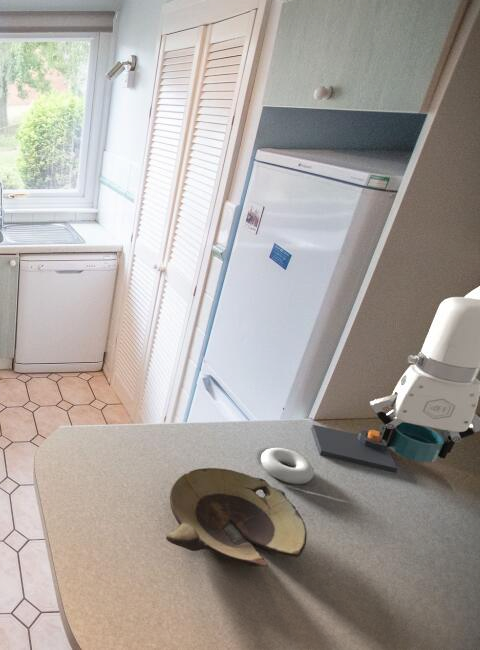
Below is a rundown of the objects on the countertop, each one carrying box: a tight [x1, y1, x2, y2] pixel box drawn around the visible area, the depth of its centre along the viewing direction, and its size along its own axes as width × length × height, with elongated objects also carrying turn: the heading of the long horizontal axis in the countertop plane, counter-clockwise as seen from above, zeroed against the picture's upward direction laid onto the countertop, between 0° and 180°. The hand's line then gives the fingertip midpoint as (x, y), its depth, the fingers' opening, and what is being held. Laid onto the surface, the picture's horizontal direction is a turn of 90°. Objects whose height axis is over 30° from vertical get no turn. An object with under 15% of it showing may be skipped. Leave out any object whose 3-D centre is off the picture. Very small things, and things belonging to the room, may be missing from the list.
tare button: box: [367, 429, 381, 442], centre depth 108 cm, size 3×3×2 cm
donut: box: [260, 447, 315, 485], centre depth 102 cm, size 10×4×10 cm
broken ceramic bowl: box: [165, 467, 308, 568], centre depth 87 cm, size 22×30×8 cm
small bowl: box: [388, 422, 445, 464], centre depth 86 cm, size 7×7×4 cm
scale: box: [310, 424, 399, 474], centre depth 108 cm, size 14×11×3 cm
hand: (411, 447), depth 86 cm, fingers closed on small bowl, 7 cm apart
